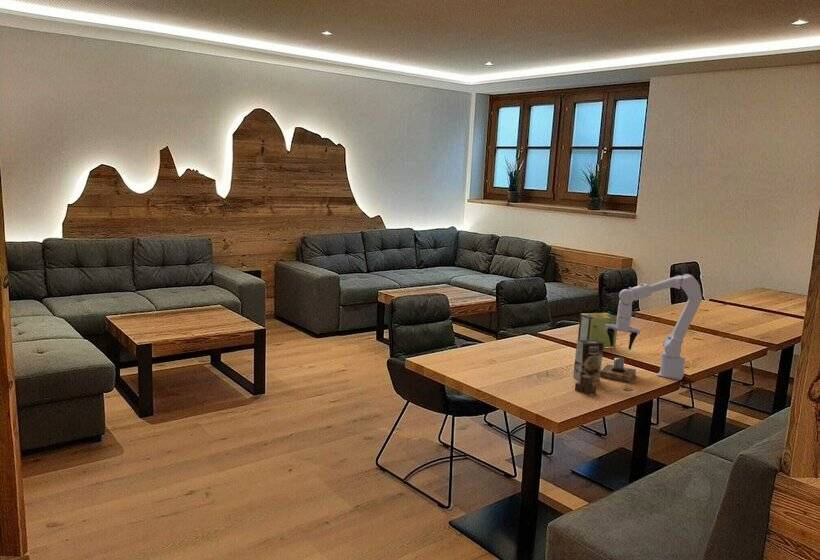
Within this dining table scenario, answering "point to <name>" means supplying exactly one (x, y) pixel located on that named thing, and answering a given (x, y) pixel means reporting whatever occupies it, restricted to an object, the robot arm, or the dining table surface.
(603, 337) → the protein box
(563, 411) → the dining table surface
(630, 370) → the socket block
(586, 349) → the coffee box
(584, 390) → the stack of crates
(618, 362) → the pin
